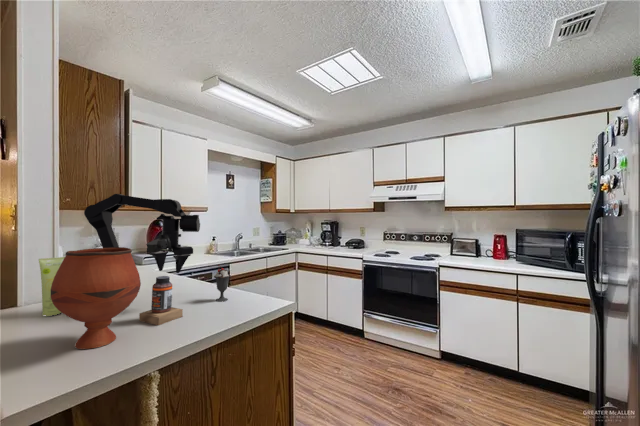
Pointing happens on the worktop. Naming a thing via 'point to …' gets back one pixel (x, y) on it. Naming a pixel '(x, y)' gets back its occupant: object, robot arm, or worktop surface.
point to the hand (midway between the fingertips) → (169, 271)
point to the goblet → (95, 290)
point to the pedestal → (160, 316)
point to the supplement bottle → (161, 295)
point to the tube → (49, 283)
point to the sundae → (222, 282)
